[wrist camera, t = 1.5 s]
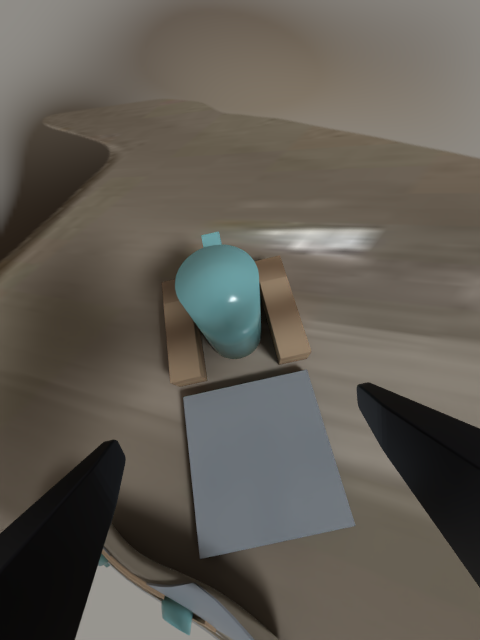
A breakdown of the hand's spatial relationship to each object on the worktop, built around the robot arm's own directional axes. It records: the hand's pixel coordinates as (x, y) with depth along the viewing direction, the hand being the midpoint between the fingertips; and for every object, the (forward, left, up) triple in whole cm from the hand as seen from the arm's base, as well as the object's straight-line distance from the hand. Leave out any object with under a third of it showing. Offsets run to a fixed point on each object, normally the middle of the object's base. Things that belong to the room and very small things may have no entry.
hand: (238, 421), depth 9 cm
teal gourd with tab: (+9, -4, -13) cm, 16 cm away
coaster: (-2, +1, -13) cm, 13 cm away
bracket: (+7, -4, -13) cm, 15 cm away
